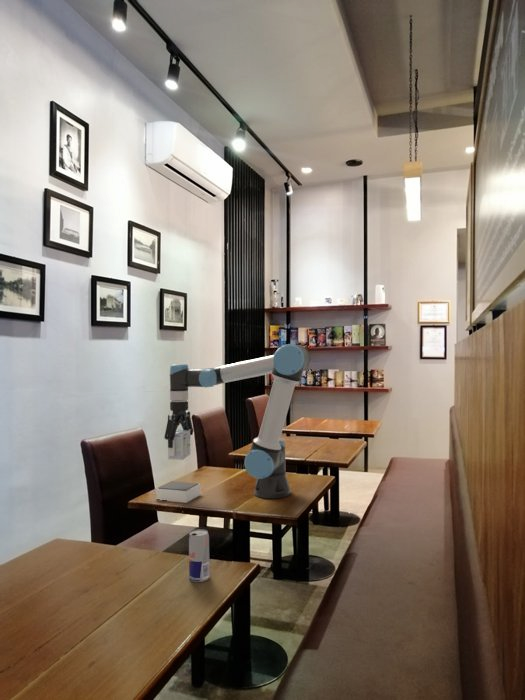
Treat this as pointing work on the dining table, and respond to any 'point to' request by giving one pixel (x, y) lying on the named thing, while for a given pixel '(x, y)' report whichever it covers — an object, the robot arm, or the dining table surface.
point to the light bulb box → (181, 444)
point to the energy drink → (199, 555)
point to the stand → (178, 491)
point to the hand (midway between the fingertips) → (179, 452)
